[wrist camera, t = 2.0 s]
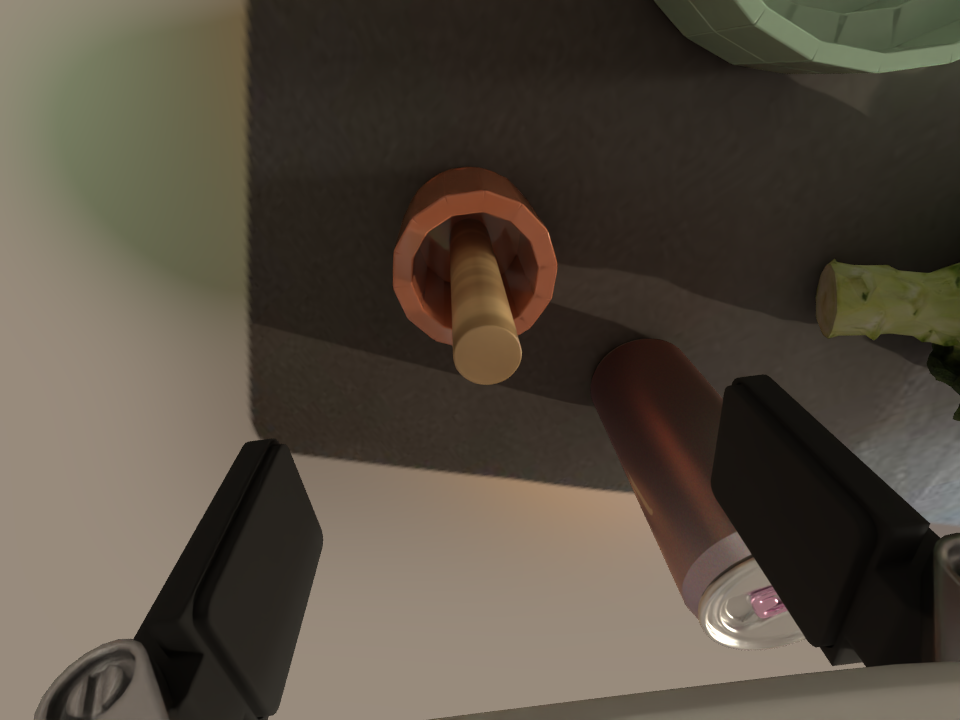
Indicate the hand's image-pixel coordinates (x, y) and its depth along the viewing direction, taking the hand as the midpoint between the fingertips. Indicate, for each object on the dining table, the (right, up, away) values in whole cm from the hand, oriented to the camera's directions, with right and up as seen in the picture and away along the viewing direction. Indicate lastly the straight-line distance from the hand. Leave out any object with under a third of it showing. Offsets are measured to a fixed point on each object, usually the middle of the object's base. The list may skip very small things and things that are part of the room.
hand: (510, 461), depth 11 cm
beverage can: (+9, +1, +20) cm, 21 cm away
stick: (-1, +8, +14) cm, 16 cm away
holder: (-1, +9, +14) cm, 17 cm away
